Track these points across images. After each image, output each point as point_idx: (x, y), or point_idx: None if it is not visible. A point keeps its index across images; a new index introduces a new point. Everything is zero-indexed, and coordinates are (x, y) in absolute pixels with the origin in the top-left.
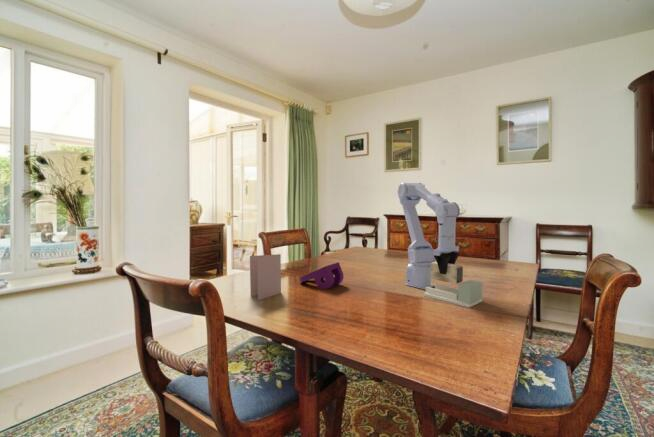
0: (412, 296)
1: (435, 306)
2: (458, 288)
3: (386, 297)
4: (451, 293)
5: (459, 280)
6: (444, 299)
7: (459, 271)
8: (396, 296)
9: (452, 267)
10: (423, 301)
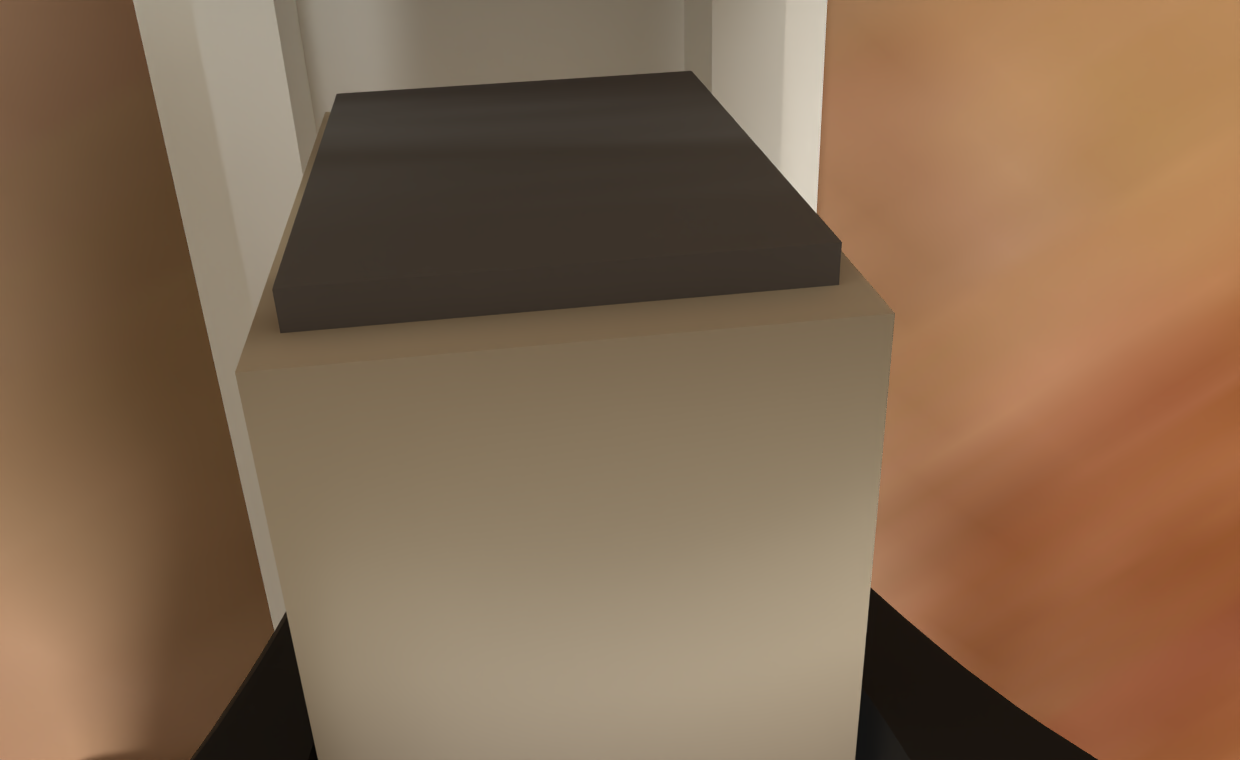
0: (943, 617)
1: (1206, 77)
2: (234, 218)
3: (1235, 756)
4: (780, 84)
5: (571, 90)
6: (810, 163)
7: (623, 199)
8: (1105, 725)
9: (854, 491)
10: (1072, 369)
